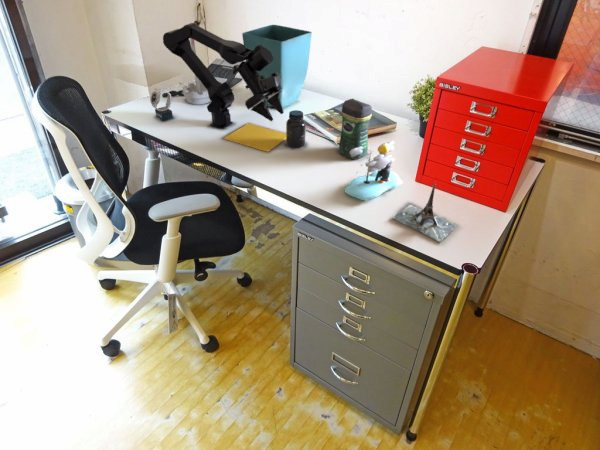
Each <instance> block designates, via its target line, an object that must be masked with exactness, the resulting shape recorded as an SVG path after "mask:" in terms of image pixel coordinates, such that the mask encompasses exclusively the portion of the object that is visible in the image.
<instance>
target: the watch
mask: <svg viewBox="0 0 600 450" xmlns="http://www.w3.org/2000/svg"><path fill="white" fill-rule="evenodd" d="M162 92H164V93H166V94H167V98H166V102H165V106H161V107H158V104H159V103H160V101H161V94H162ZM149 101H150V104H151V106H152V108H154V112H155V117H156V118H157V119H159V120H160V121H162V122H165V121H169V120H172V119H174V116H173V115H174V114H173V111H172V109H170V107H171V105H172V101H173V98H172V94H171V93H170V92H169V91H167V90H166V89H164V88H159V89H156V90H154V91H152V92H151V95H150V97H149Z"/></svg>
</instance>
